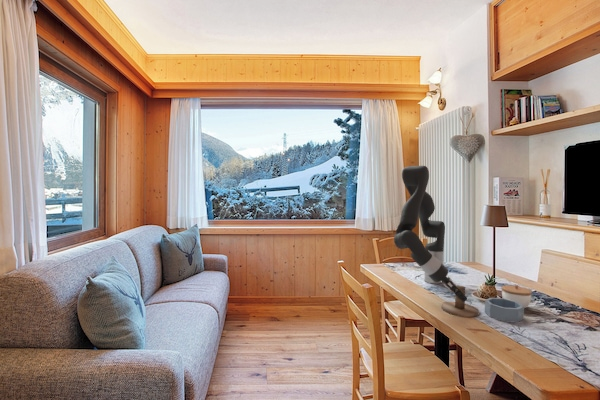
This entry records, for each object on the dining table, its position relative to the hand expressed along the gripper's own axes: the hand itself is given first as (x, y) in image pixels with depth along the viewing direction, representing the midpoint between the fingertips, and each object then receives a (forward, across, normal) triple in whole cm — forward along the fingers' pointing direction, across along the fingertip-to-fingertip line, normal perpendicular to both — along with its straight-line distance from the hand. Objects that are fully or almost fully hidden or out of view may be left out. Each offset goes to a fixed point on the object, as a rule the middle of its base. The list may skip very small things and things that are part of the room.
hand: (461, 296), depth 130 cm
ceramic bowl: (+14, -3, -6) cm, 16 cm away
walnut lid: (+4, 0, +5) cm, 6 cm away
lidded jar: (+22, +9, -13) cm, 27 cm away
